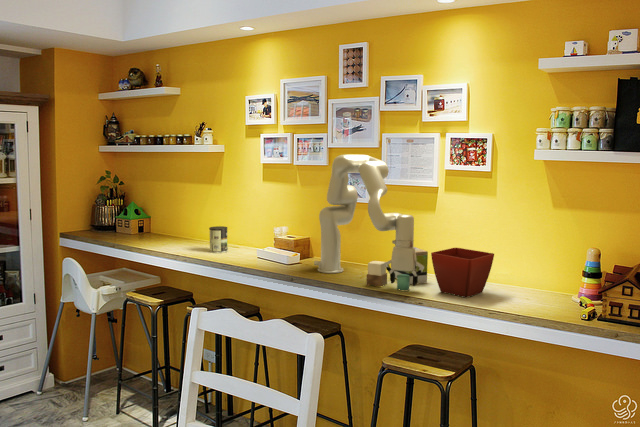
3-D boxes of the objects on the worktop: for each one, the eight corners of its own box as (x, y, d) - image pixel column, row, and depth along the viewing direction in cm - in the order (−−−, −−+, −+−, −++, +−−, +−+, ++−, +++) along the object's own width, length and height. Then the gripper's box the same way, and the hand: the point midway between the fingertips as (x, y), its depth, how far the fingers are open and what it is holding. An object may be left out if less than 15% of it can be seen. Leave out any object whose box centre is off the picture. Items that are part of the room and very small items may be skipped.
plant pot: (468, 301, 218) (470, 259, 216) (428, 292, 231) (430, 252, 229) (493, 293, 231) (495, 253, 229) (454, 284, 244) (455, 247, 243)
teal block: (395, 289, 234) (395, 276, 233) (399, 287, 239) (399, 273, 238) (407, 291, 232) (407, 277, 231) (410, 288, 236) (411, 275, 236)
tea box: (391, 277, 258) (392, 246, 256) (410, 276, 261) (411, 245, 259) (408, 284, 244) (408, 251, 242) (427, 283, 247) (428, 250, 246)
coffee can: (225, 249, 326) (225, 225, 324) (229, 252, 316) (229, 228, 315) (208, 250, 322) (207, 226, 320) (211, 253, 312) (211, 228, 311)
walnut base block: (366, 285, 242) (366, 274, 241) (372, 282, 248) (372, 271, 248) (381, 287, 239) (381, 276, 238) (386, 284, 245) (387, 273, 244)
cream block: (367, 274, 242) (368, 263, 241) (373, 271, 247) (373, 260, 246) (380, 275, 239) (380, 264, 238) (385, 273, 244) (385, 262, 244)
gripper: (382, 243, 233) (381, 283, 235) (421, 246, 226) (420, 287, 227) (388, 241, 240) (387, 280, 242) (427, 244, 232) (426, 284, 234)
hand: (403, 283), depth 235 cm, fingers open, 9 cm apart
